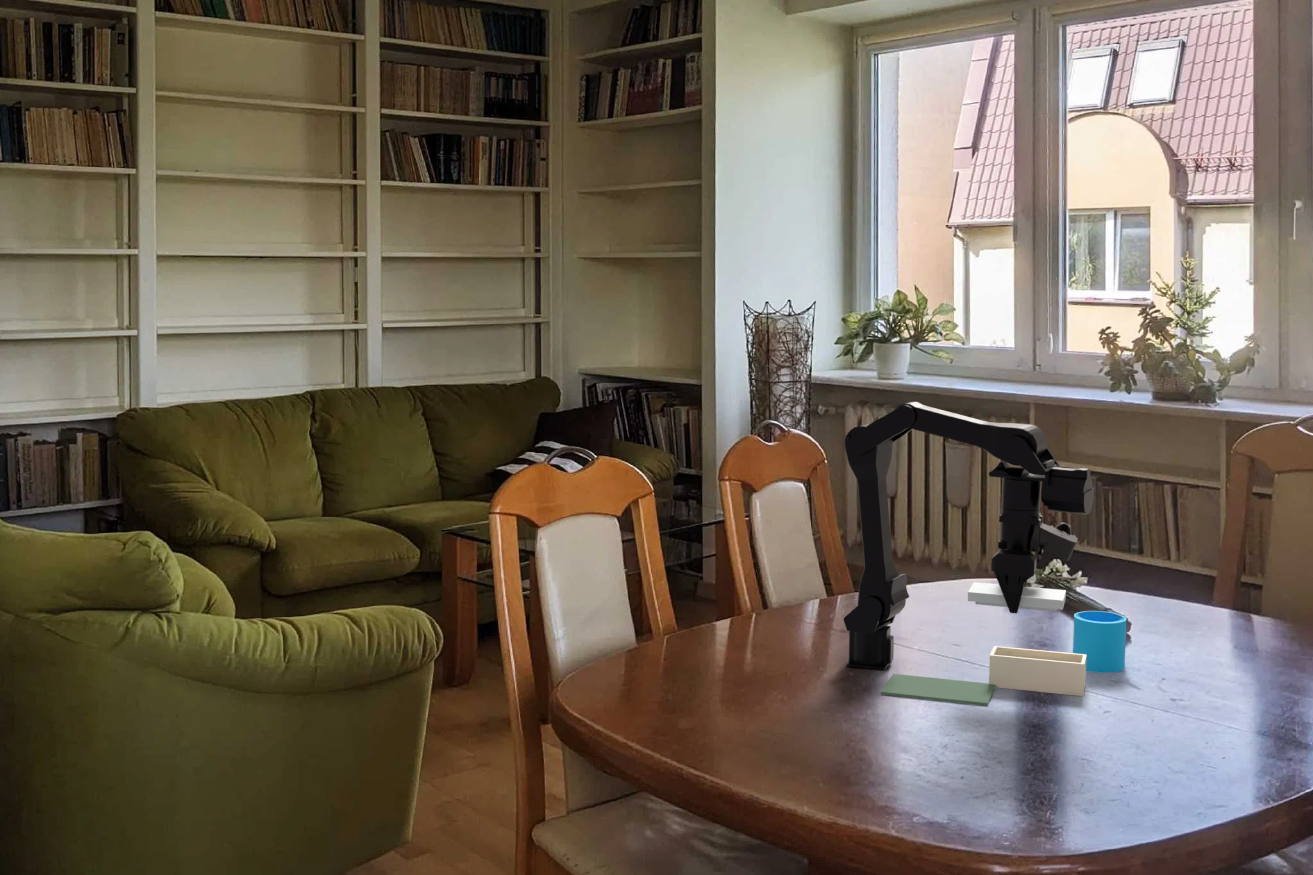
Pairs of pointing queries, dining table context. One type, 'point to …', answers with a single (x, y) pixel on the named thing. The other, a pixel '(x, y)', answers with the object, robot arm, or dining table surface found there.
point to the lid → (1029, 598)
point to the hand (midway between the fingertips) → (1016, 607)
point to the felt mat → (939, 689)
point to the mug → (1100, 640)
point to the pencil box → (1038, 670)
